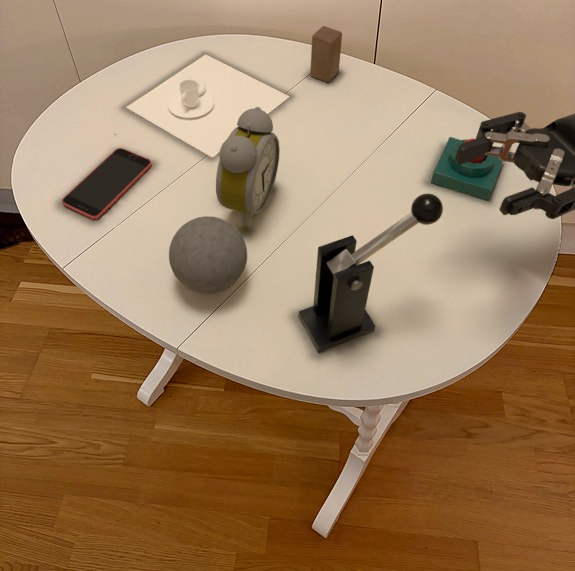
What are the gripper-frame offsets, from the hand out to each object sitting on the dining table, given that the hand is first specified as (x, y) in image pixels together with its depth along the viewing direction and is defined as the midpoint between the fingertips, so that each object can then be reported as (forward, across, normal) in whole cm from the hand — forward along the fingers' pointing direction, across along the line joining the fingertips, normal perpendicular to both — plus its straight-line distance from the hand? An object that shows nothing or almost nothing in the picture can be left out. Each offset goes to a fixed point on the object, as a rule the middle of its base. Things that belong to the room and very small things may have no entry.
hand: (479, 180), depth 65 cm
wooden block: (-6, -48, +19) cm, 52 cm away
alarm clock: (+19, -24, +19) cm, 36 cm away
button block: (-15, -16, +19) cm, 30 cm away
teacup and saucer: (+15, -49, +19) cm, 55 cm away
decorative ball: (+28, -13, +19) cm, 37 cm away
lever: (+10, 0, +6) cm, 12 cm away
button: (-15, -16, +16) cm, 27 cm away
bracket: (+16, 0, +19) cm, 25 cm away
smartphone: (+36, -37, +19) cm, 55 cm away
